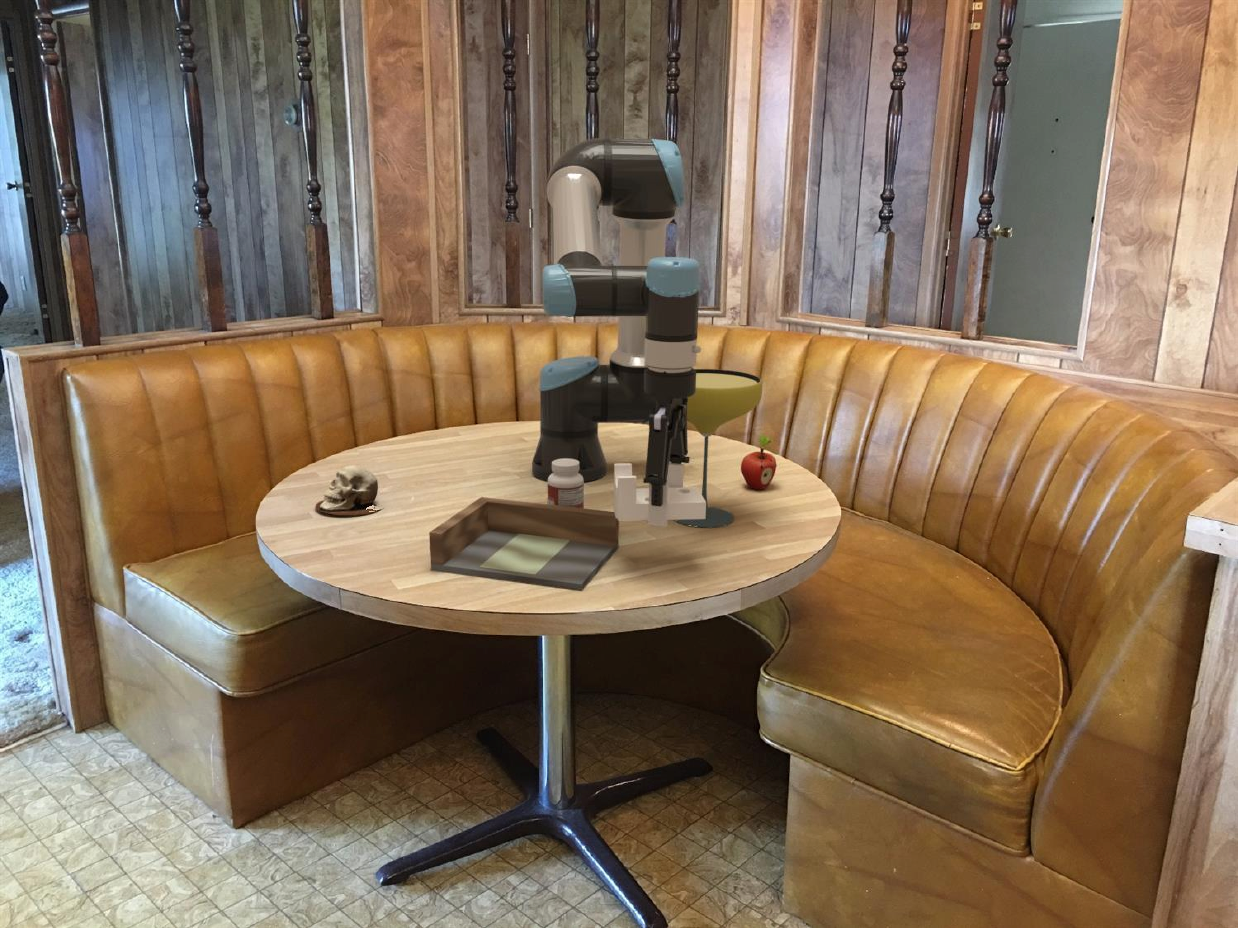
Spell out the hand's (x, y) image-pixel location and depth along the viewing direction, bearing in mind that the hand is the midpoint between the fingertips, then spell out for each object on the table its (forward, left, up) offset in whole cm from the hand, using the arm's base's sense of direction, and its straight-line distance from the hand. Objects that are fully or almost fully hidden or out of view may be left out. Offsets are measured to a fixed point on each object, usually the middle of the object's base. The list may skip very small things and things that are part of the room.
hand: (665, 513), depth 141 cm
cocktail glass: (-23, +1, -8) cm, 25 cm away
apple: (-45, +7, -8) cm, 46 cm away
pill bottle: (-13, -21, -8) cm, 26 cm away
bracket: (0, -1, -1) cm, 1 cm away
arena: (+4, -21, -8) cm, 23 cm away
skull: (-8, -61, -9) cm, 62 cm away
